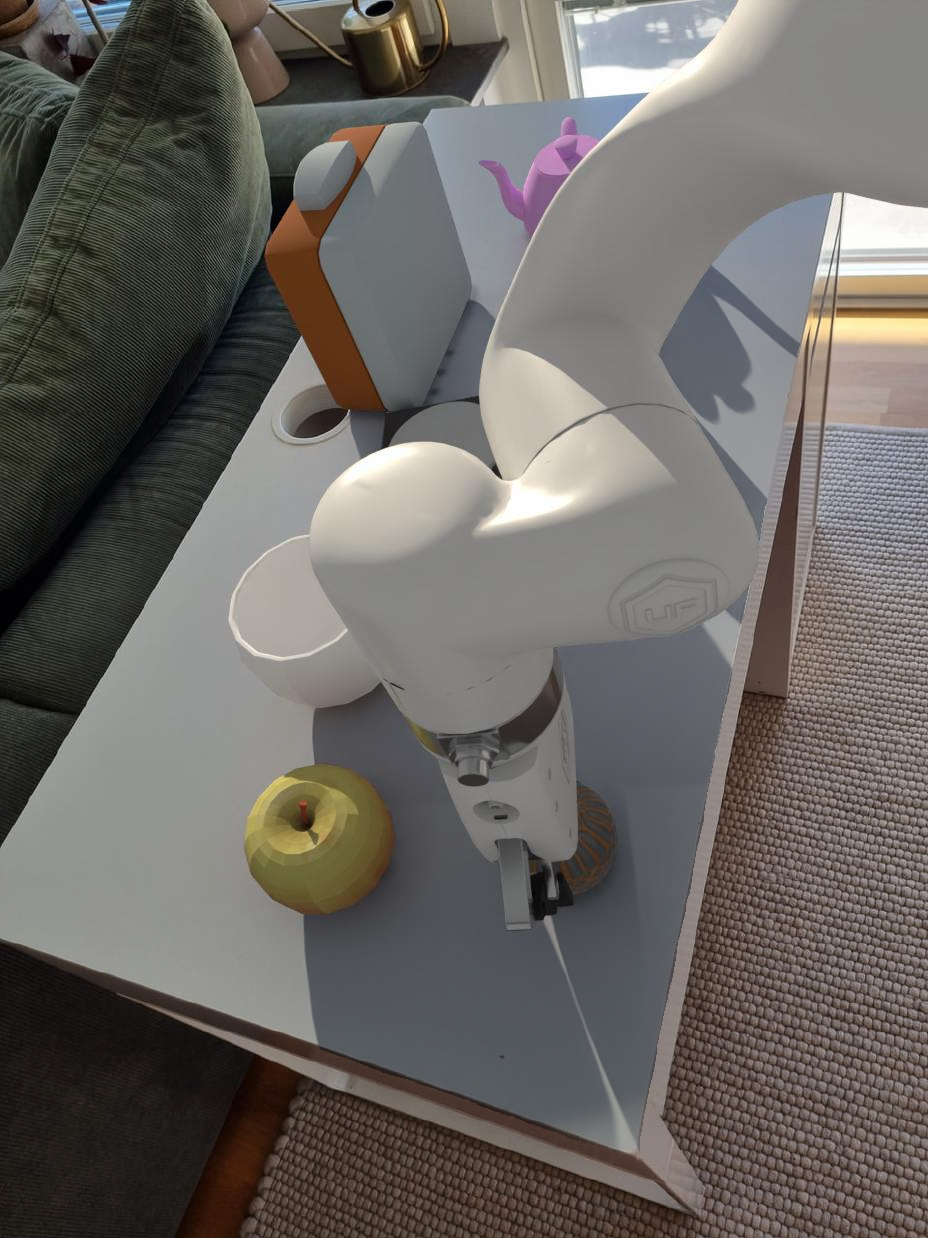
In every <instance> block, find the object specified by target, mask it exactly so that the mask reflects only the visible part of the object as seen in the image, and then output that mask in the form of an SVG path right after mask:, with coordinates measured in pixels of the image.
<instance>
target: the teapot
mask: <svg viewBox="0 0 928 1238" xmlns="http://www.w3.org/2000/svg"><path fill="white" fill-rule="evenodd" d="M600 141H601V140H599V138H597V137H594V136H591V135H587V134H578V128H577V123H576V120H575V118H574V117H565V118H564V119H563V120H562V122H561V128H560V137H558V138H557V139H556V140H555V139H554V141H551V142H549V143H548V144H546V146H544V147H543V148H541V149H540V150H539V152H538V153H537V155H536V156H535V157H534V160H533V161H532V164H531V165H530V169H529V172H528V174H527V177H526V178H525V179H526V180H525V183H524V186H523V190H521V189H518V188H517V187H515V186H514V184H513V183H512V181H511V179H510V176H509V174H508V171H507V169H506V168H505V167H504V165H502V164H501V163H500V162H498V161H496V160H490V159H487V160H486V159H485V160H479V161H478V165H479V166H481V168H482V167H483V168H484V169H485V170H487V171H489V172H490V173H491V174H492V175H493V176H494V178H495V180H496V183H497V185H498V188H499V192H500V193H499V194H500V196H501V199H502V202H503V205H504V208H505V209H506V210H507V212H508V213H509V214H510V215H512V216H513V217H514V218H516V219H518V220H520V221H522V222H523V226H524V228H525V230H526V232H527V233H528V234H529V236H531V237H532V236H533V234H534V232H535V230H536V228H537V226H538V224H539V222H540V220H541V218H542V216H543V214H544V213H545V211H546V209H547V207H548V206H549V204H550V203H551V201H552V199H553V198H554V196H555V194H556V193H557V191H558V190H559V188H560V187H561V186H562V184H563V183H564V182H565V180H566V179H567V178H568V176H569V175H570V174H571V172H572V171H573V170H574V169H575V167H576V166H577V165H578V164H579V163H580V162H581V161H582V159H583V158H584V157H585V156H586V155H587V154H588V153H589V152H590V151H591V150H592V149H593V148H594V147H595V146H596V145H597V144H598V143H599V142H600Z"/></svg>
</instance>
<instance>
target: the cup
mask: <svg viewBox="0 0 928 1238" xmlns="http://www.w3.org/2000/svg"><path fill="white" fill-rule="evenodd" d="M309 534H310V533H308V534H302V535H298V536H293V537H290V538H288V539H287V540H285V541H283V542H281V543H279V544H277V545H275V546H273V547H271V548H270V549H269V548H268V549H267V550H266V551H265V552H264V553H263V554H261V555H260V556H259V557H258V558H257V560H255V561H254V562H253V563H252V564H251V565H250V566H249V567H248V568H247V569H246V570H245V571H244V573H243V574H242V576H241V578H240V580H239V582H238V583H237V585H236V587H235V589H234V591H233V593H232V594H231V597H230V598H231V599H230V605H229V613H228V620H227V621H228V624H229V627H230V630H231V633H232V636H233V639H234V643H235V644H236V647H237V651H238V653H239V656H240V660H241V661H242V663H243V664H244V665H245V666H246V667H247V669H249V671H250V672H251V673H252V674H253V675H254V676H255V678H256V679H258V680H259V682H261V683H262V684H263V685H265V686H266V687H267V688H268V689H269V690H270V691H271V692H272V693H274V694H275V695H276V696H278V697H280V698H283V699H285V700H287V701H290V702H293V703H295V704H299V705H304V706H308V707H312V708H316V709H324V708H330V707H336V706H342V705H347V704H349V703H352V702H354V701H355V700H357V699H358V700H359V698H362V697H363V696H365V695H367V694H369V693H372V691H374V690H375V689H376V688H377V686H378V685H379V684H380V683H382V682H381V681H380V679H379V678H378V676H377V675H376V673H375V672H374V670H373V669H372V667H371V666H370V664H369V662H368V661H367V659H366V658H365V656H364V655H363V653H362V651H361V650H360V648H359V647H358V645H357V644H356V642H355V640H354V639H353V637H352V636H351V634H350V633H349V631H348V629H347V628H346V626H345V625H344V623H343V622H342V620H341V618H340V617H339V615H338V614H337V612H336V611H335V609H334V607H333V606H332V604H331V603H330V601H329V600H328V598H327V596H326V595H325V593H324V591H323V589H322V587H321V585H320V584H319V582H318V580H317V578H316V576H315V573H314V571H313V568H312V563H311V558H310V552H309Z"/></svg>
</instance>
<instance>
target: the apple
mask: <svg viewBox="0 0 928 1238" xmlns="http://www.w3.org/2000/svg"><path fill="white" fill-rule="evenodd" d="M392 817H393V816H392V813H391V811H390V809H389V807H388V805H387V804H386V802H385V801H384V799H383V798H382V797H381V795H380V793H379V791H378V790H377V789H376V787H375V786H374V785H373V784H372V783H371V782H370V781H369V780H368V779H367V778H365V777H363V776H362V775H360V774H359V773H357V772H356V771H353V770H352V769H350V768H349V767H345V766H338V765H332V764H325V763H317V764H316V763H315V764H311V765H306V766H302V767H296V768H294V769H292V770H291V771H288V772H287V773H285V774H283V775H282V776H280V777H278V778H276V779H274V781H272V782H271V783H270V784H269V786H268V787H267V788H266V789H265V790H264V791H263V792H262V793H261V794H260V795H259V796H258V797H257V799H256V801H255V803H254V805H253V807H252V808H251V811H250V814H249V815H248V817H247V820H246V827H245V835H244V842H243V843H244V845H243V846H244V848H243V849H244V855H245V858H246V863H247V866H248V870H249V874H250V875H251V877H252V878H253V879H254V881H255V882H256V883H257V884H258V885H259V887H260V888H261V889H262V890H263V891H264V892H265V894H266V895H267V896H268V897H269V898H270V899H271V900H273V901H274V902H276V903H277V904H279V905H282V906H284V907H286V908H289V909H290V910H293V911H294V912H297V913H299V914H301V915H329V914H332V913H335V912H339V911H340V910H343V909H345V908H349V907H351V906H354V905H356V904H357V903H359V902H360V901H362V899H363V898H364V897H365V896H367V895H368V894H369V893H370V892H372V891H373V890H374V889H375V888H376V887H377V885H378V883H379V882H380V880H381V879H382V877H383V875H384V874H385V872H386V870H387V868H388V867H389V865H390V862H391V858H392V854H393V849H394V848H393V847H394V844H395V839H396V836H395V835H396V834H395V830H394V824H393V818H392Z"/></svg>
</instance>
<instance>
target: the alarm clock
mask: <svg viewBox="0 0 928 1238" xmlns="http://www.w3.org/2000/svg"><path fill="white" fill-rule="evenodd" d="M462 246H463V245H462V244H461V241H460V237H459V233H458V230H457V227H456V223H455V221H454V217H453V214H452V211H451V207H450V203H449V201H448V198H447V193H446V191H445V187H444V184H443V181H442V178H441V175H440V171H439V168H438V165H437V161H436V158H435V155H434V151H433V148H432V145H431V141H430V138H429V135H428V131H427V129H426V128H425V126H424V124H423V123H420V122H419V121H408V122H398V123H397V122H396V123H391V124H390V123H388V124H387V123H386V124H377V125H375V124H374V125H365V126H355V127H354V126H353V127H344V128H342V129H339V130H336V132H334V133H333V134H332V136H331V138H330V139H329V141H328V142H324V143H322V144H320V145H317V146H315V147H314V148H313V149H312V150H310V151H309V152H308V153H306V155H305V156H304V157H303V159H301V160H300V163H299V165H298V167H297V169H296V172H295V176H294V181H293V200H292V202H291V203H290V205H289V207H288V208H287V210H286V212H285V213H284V215H283V216H282V218H281V220H280V221H279V223H278V225H277V226H276V228H275V230H274V231H273V233H272V234H271V236H270V238H269V239H268V240H267V243H266V245H265V252H264V255H263V256H264V260H265V265H266V269H267V271H268V272H269V275H270V277H271V278H272V281H273V282H274V285H275V286H276V289H277V290H278V292H279V294H280V296H281V298H282V300H283V302H284V304H285V306H286V308H287V311H288V312H289V315H290V316H291V318H292V320H293V322H294V324H295V326H296V328H297V329H298V331H299V334H300V335H301V337H302V340H303V341H304V343H305V346H306V347H307V349H308V351H309V353H310V355H311V357H312V359H313V360H314V363H315V365H316V367H317V369H318V371H319V373H320V375H321V378H323V381H324V383H325V385H326V387H327V389H328V391H329V393H330V394H331V397H332V399H333V401H334V403H335V404H336V405H337V406H339V407H340V408H342V409H344V410H347V411H374V412H394V411H399V410H404V409H410V408H415V407H420V406H424V403H425V401H426V399H427V396H428V394H429V392H430V389H431V387H432V385H433V382H434V380H435V378H436V376H437V373H438V371H439V368H440V366H441V364H442V362H443V360H444V357H445V355H446V353H447V350H448V348H449V346H450V344H451V341H452V339H453V337H454V334H455V332H456V330H457V328H458V325H459V323H460V320H461V319H462V316H463V314H464V311H465V309H466V307H467V304H468V302H469V299H470V297H471V294H472V288H473V285H472V284H473V283H472V276H471V273H470V270H469V266H468V263H467V260H466V256H465V253H464V250H463V247H462Z"/></svg>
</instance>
